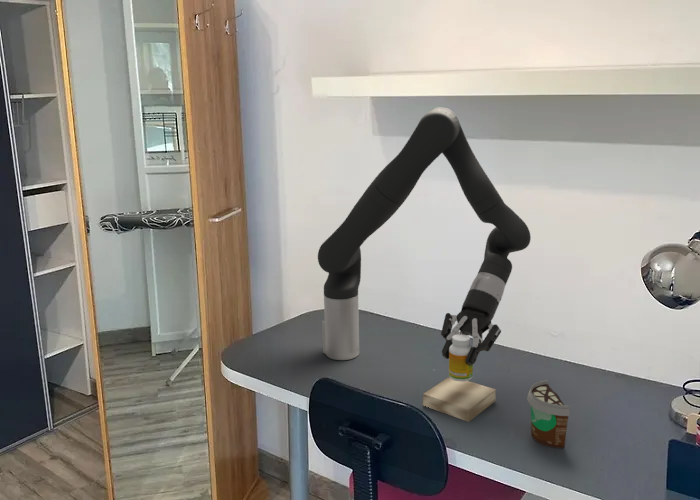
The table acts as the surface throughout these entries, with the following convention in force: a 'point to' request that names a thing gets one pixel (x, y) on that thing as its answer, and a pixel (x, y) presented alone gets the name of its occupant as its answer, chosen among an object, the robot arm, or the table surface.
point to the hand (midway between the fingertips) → (456, 360)
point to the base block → (459, 398)
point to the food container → (547, 415)
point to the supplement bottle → (460, 358)
